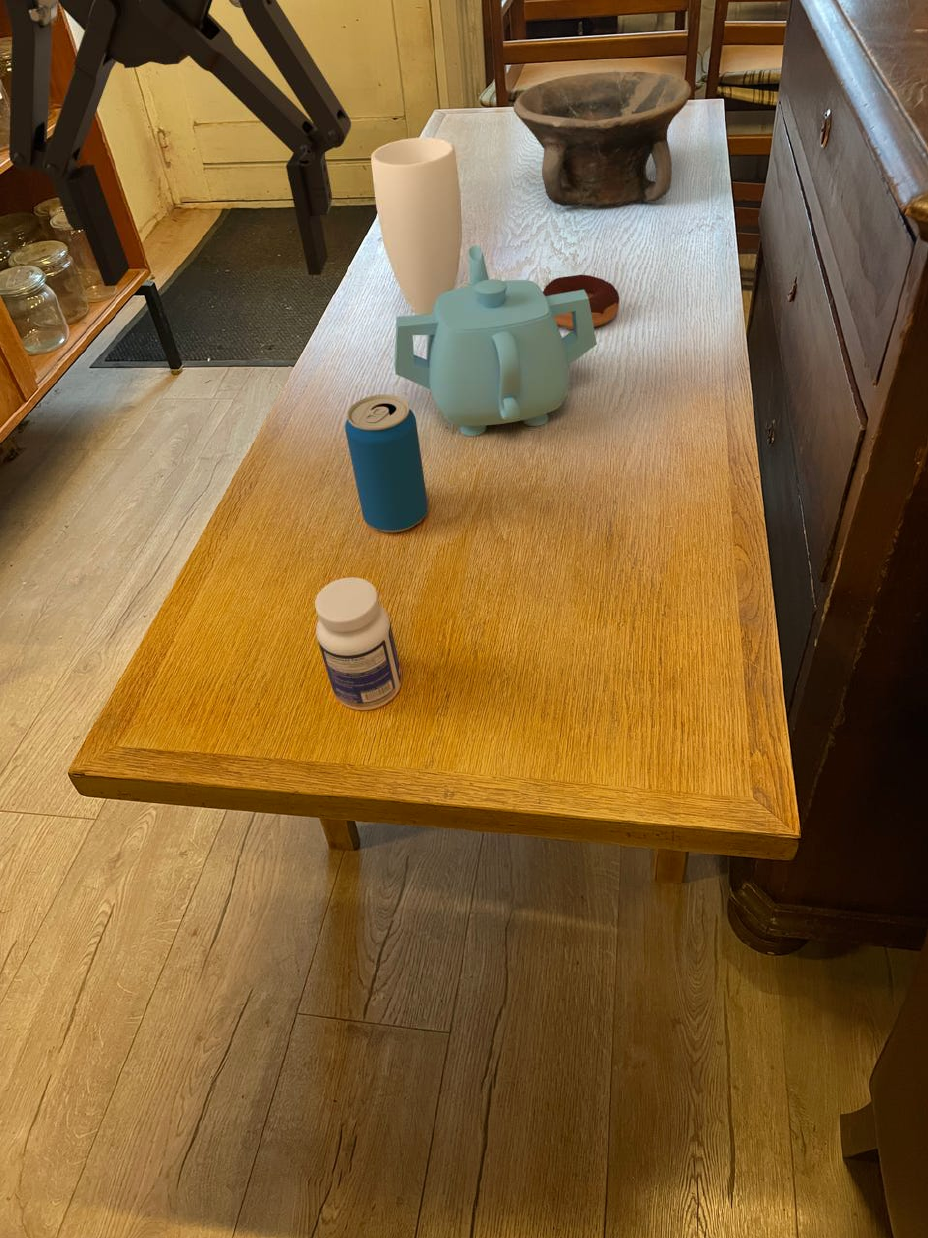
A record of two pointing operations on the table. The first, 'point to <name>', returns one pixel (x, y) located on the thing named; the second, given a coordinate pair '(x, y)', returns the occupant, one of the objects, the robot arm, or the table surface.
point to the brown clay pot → (604, 135)
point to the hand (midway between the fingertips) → (217, 272)
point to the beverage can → (387, 462)
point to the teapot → (495, 350)
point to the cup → (419, 216)
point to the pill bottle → (357, 644)
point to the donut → (598, 293)
